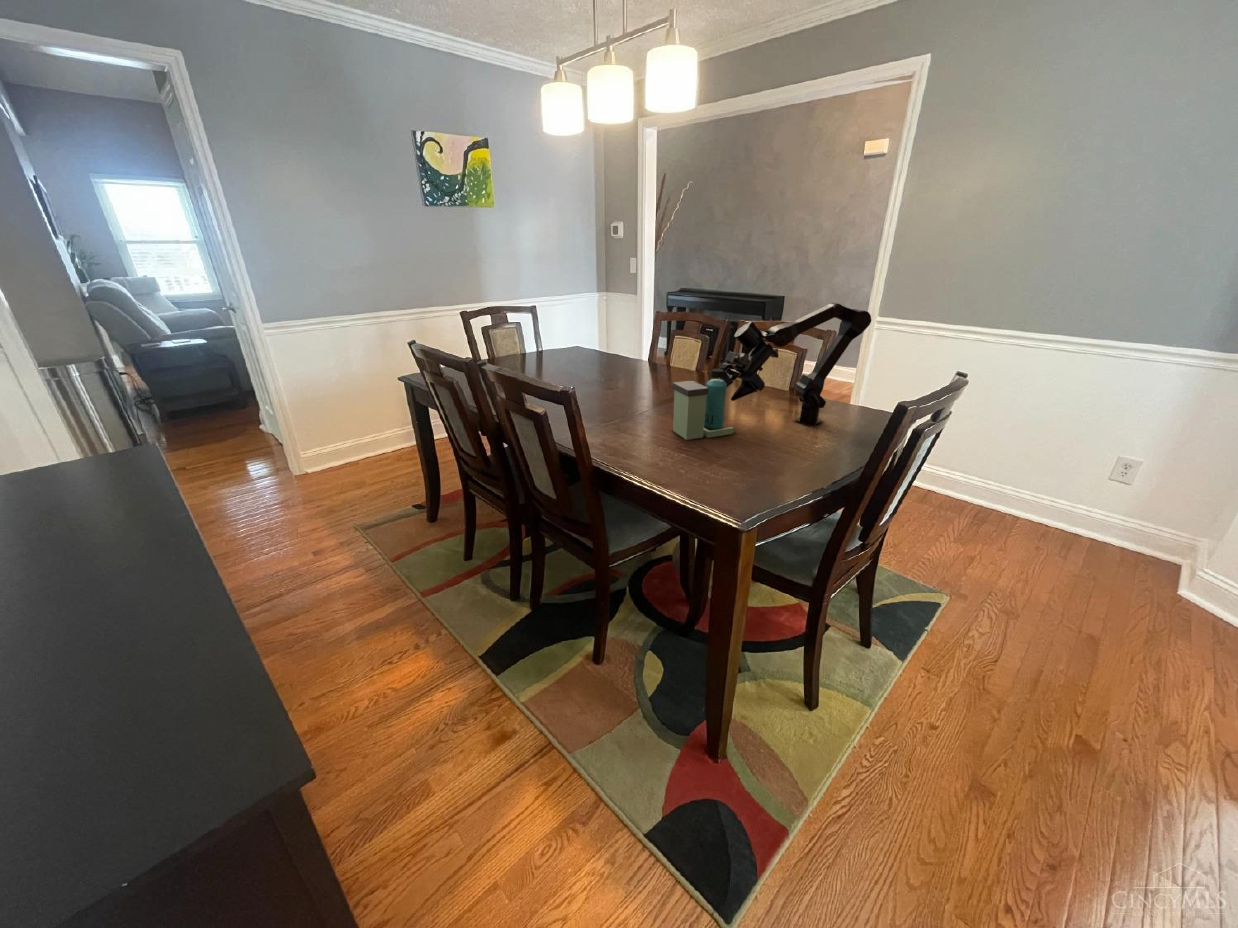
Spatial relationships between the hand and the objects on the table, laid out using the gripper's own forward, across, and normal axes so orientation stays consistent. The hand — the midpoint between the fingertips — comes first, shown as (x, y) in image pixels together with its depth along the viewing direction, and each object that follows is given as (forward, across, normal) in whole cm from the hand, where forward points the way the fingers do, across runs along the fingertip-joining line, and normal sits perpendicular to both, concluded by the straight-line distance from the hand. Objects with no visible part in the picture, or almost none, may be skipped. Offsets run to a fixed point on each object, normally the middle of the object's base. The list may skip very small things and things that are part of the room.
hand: (723, 396), depth 157 cm
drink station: (+13, 0, +3) cm, 13 cm away
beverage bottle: (+10, 0, +6) cm, 12 cm away
